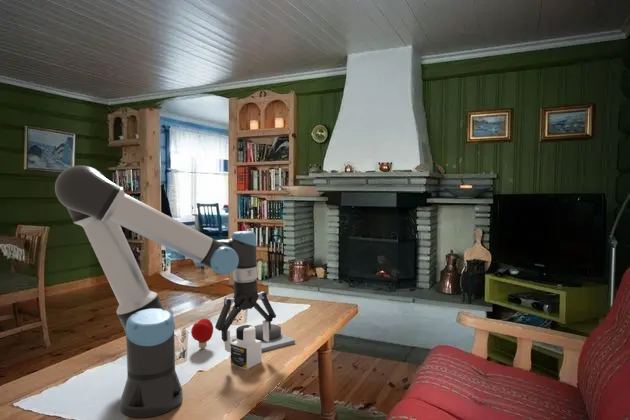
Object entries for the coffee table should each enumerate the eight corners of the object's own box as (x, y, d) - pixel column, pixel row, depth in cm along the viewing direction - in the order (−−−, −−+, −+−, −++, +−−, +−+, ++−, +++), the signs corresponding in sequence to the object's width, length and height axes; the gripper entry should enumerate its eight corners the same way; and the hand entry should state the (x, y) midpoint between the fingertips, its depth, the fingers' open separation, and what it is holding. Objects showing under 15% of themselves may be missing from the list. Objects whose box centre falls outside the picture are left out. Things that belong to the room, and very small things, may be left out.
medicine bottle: (230, 364, 133) (229, 327, 133) (246, 357, 139) (245, 321, 139) (246, 370, 129) (246, 332, 129) (262, 362, 135) (261, 325, 134)
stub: (259, 342, 149) (259, 335, 149) (246, 334, 158) (246, 327, 158) (286, 336, 155) (286, 329, 155) (271, 328, 164) (271, 322, 164)
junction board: (244, 356, 140) (244, 349, 140) (224, 341, 154) (223, 335, 154) (294, 343, 151) (294, 337, 151) (271, 330, 165) (271, 324, 165)
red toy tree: (205, 354, 141) (205, 325, 141) (186, 353, 143) (186, 324, 142) (217, 344, 150) (217, 317, 150) (199, 343, 152) (199, 316, 151)
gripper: (212, 288, 123) (214, 359, 124) (285, 276, 137) (286, 339, 138) (203, 283, 129) (205, 351, 130) (273, 272, 143) (275, 333, 144)
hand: (247, 345), depth 134 cm, fingers open, 13 cm apart
